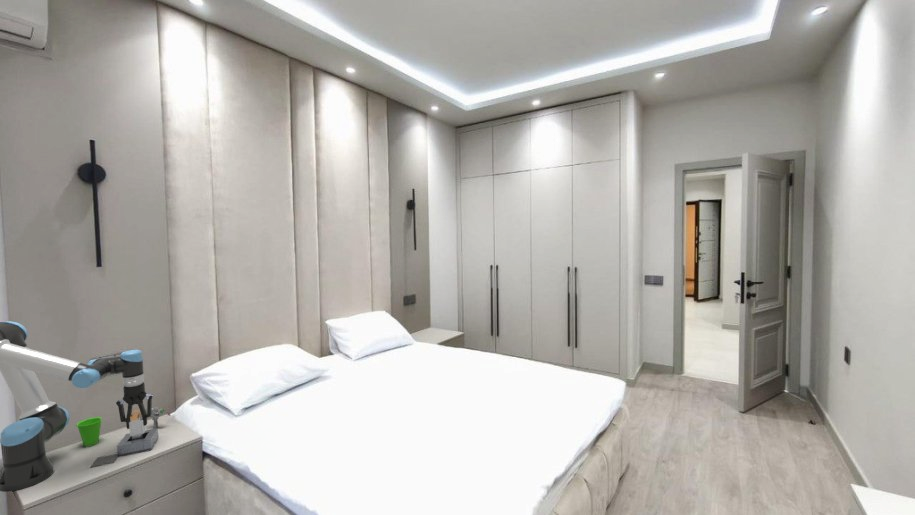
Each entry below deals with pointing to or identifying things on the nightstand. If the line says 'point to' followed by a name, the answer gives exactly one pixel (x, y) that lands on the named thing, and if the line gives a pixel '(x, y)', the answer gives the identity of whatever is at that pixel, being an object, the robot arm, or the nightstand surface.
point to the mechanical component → (156, 415)
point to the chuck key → (136, 425)
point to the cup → (90, 430)
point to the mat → (104, 460)
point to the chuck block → (137, 443)
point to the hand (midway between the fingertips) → (137, 433)
